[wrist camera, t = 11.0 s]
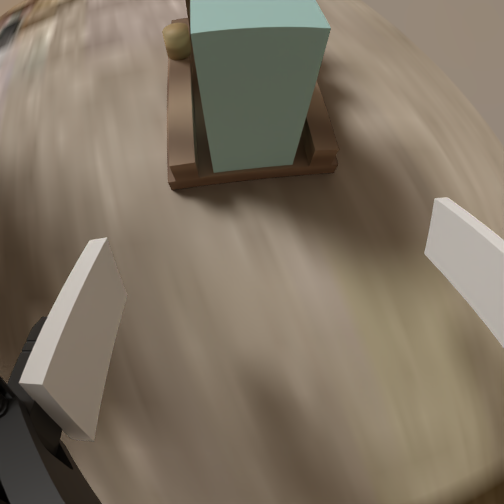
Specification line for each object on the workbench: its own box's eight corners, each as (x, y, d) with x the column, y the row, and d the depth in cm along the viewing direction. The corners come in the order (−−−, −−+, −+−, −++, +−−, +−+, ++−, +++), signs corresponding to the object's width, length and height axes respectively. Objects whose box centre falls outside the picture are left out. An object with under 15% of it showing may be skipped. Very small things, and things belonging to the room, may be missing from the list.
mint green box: (292, 164, 20) (330, 28, 9) (213, 172, 20) (190, 33, 9) (274, 85, 22) (289, -41, 11) (206, 91, 21) (190, -37, 11)
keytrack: (333, 172, 21) (367, 109, 14) (171, 190, 21) (142, 128, 14) (291, 36, 25) (300, -25, 18) (171, 46, 24) (158, -15, 17)
